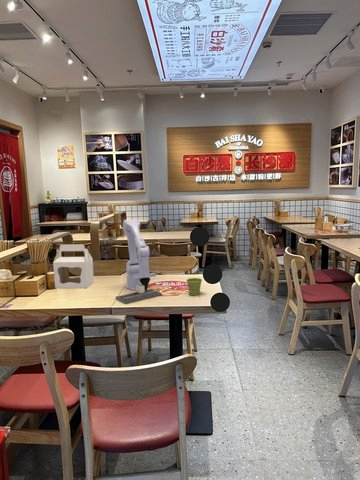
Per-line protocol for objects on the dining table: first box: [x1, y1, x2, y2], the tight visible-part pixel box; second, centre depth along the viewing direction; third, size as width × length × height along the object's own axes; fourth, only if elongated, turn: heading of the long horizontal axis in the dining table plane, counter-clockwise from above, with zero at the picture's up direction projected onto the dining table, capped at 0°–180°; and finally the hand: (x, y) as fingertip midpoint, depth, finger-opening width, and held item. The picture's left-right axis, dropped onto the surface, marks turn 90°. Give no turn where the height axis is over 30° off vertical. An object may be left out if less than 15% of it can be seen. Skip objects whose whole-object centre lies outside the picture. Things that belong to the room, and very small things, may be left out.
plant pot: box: [185, 277, 203, 296], centre depth 200 cm, size 9×9×9 cm
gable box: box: [52, 243, 95, 289], centre depth 225 cm, size 22×13×28 cm, turn 85°
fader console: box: [115, 288, 163, 305], centre depth 197 cm, size 12×24×2 cm, turn 127°
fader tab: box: [135, 284, 145, 294], centre depth 197 cm, size 4×3×5 cm
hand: (145, 290), depth 199 cm, fingers closed
